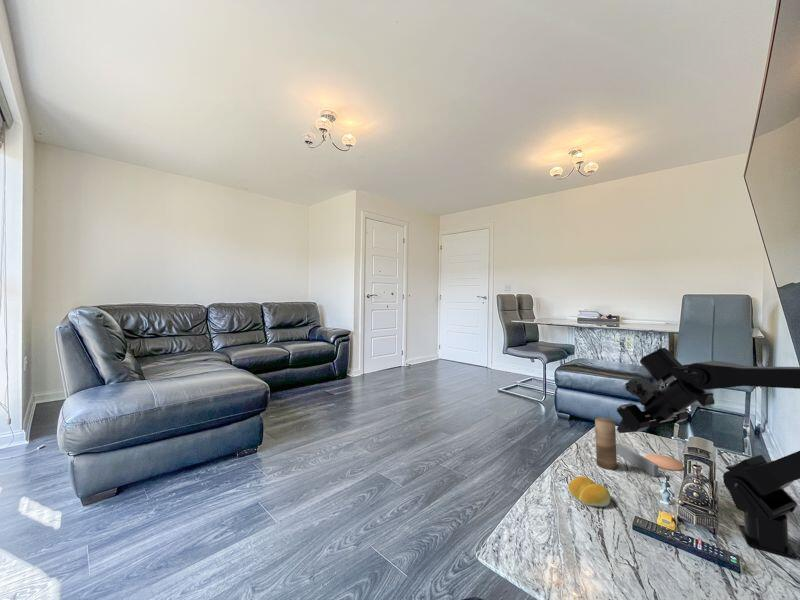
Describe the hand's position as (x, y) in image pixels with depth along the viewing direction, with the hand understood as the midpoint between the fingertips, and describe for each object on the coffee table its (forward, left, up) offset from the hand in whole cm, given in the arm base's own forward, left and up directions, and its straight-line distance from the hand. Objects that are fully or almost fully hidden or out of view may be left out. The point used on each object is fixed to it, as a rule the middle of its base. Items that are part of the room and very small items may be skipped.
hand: (630, 428), depth 89 cm
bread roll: (-15, +9, -14) cm, 23 cm away
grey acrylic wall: (+9, -1, -13) cm, 16 cm away
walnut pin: (+4, +6, -13) cm, 15 cm away
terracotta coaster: (+14, -8, -13) cm, 21 cm away
